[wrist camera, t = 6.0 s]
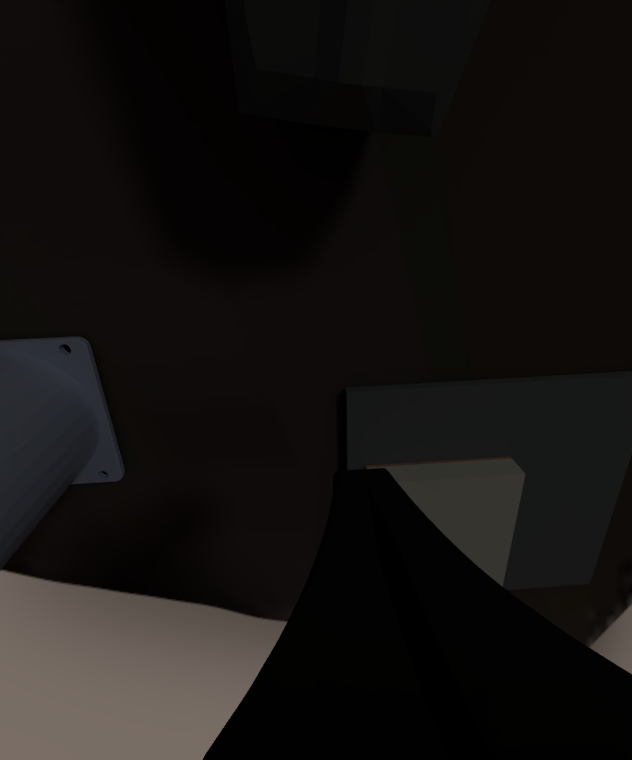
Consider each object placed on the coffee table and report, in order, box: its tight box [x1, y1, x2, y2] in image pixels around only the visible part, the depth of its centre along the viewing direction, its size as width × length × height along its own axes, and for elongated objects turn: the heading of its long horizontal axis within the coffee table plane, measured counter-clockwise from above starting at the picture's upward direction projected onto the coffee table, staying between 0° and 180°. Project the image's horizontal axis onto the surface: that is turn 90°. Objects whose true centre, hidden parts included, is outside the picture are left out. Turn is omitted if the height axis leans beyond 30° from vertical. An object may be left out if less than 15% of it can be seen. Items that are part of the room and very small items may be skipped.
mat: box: [345, 371, 632, 590], centre depth 23 cm, size 16×15×1 cm
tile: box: [366, 456, 525, 587], centre depth 23 cm, size 8×2×9 cm
